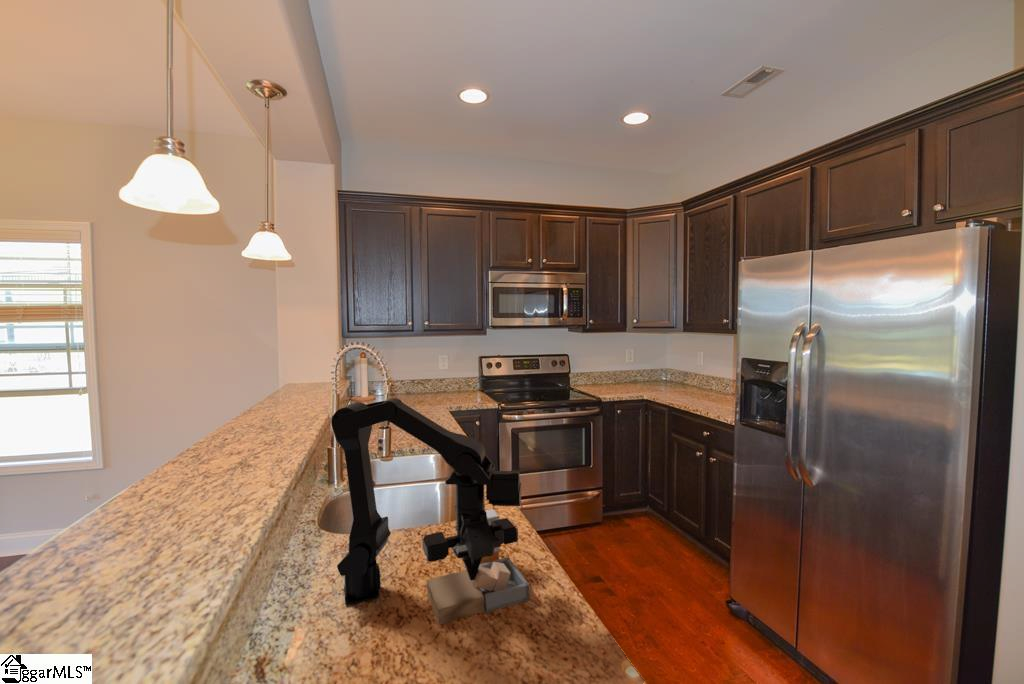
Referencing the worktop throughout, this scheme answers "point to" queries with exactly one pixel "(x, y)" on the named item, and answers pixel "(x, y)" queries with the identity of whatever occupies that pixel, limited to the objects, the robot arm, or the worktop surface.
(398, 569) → the worktop surface
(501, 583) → the tile
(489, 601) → the tray
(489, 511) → the skincare box
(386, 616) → the worktop surface
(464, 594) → the board
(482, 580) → the tile
